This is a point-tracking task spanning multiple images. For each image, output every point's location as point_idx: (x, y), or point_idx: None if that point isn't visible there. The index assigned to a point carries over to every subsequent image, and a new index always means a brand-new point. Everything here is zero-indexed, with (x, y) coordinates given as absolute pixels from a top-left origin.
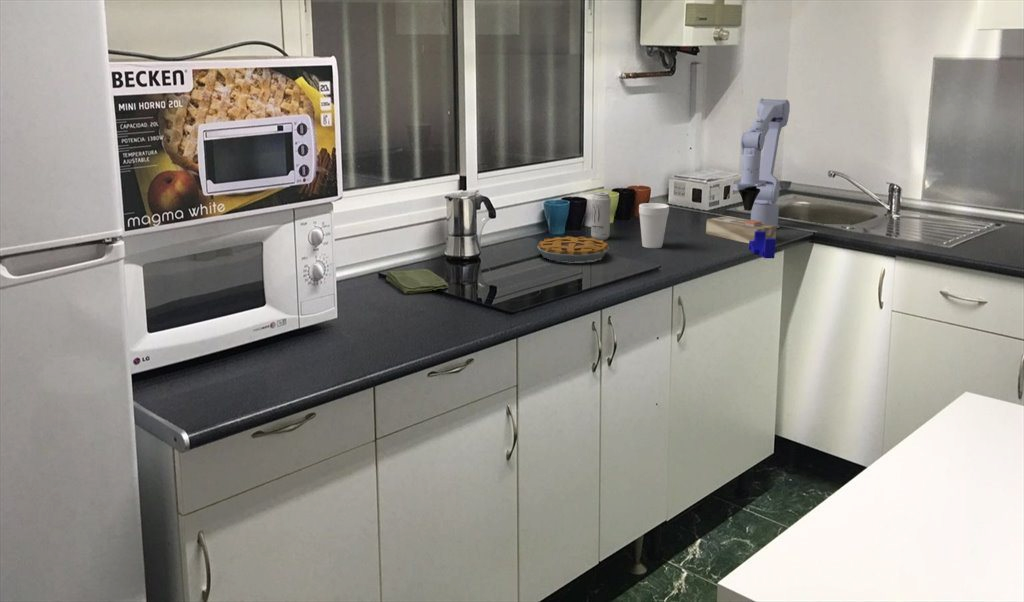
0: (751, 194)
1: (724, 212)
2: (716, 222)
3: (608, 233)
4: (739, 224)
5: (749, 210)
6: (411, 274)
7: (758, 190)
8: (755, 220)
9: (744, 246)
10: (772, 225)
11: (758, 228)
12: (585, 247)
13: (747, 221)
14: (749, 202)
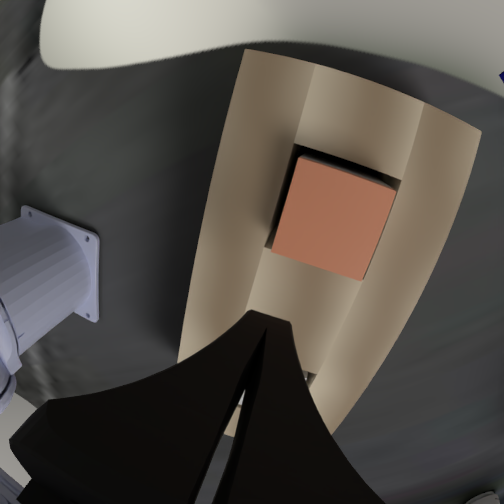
0: (344, 483)
1: (28, 391)
2: (339, 419)
3: (490, 501)
4: (369, 305)
5: (284, 320)
6: None
7: (100, 468)
8: (286, 220)
9: (496, 175)
10: (245, 80)
11: (436, 130)
12: None
13: (369, 261)
14: (306, 386)
